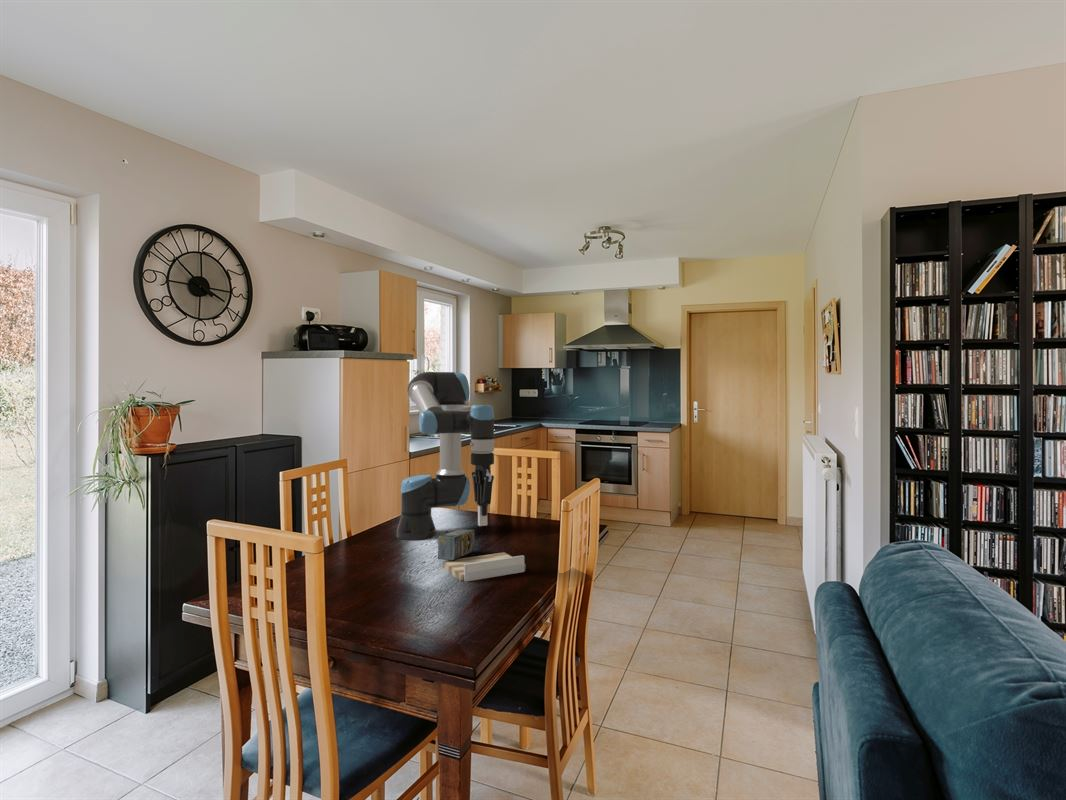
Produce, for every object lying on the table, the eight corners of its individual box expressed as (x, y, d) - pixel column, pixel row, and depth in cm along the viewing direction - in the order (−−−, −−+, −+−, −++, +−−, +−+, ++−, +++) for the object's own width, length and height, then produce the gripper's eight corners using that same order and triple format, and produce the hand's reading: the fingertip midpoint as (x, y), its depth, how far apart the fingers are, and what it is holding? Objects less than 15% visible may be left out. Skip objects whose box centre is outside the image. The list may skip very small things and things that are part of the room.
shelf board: (443, 567, 179) (443, 561, 179) (504, 558, 189) (504, 552, 189) (460, 581, 165) (460, 574, 165) (525, 570, 175) (525, 564, 175)
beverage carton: (453, 561, 178) (434, 560, 179) (475, 552, 196) (458, 550, 198) (454, 536, 178) (436, 535, 180) (476, 529, 197) (459, 528, 199)
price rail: (463, 580, 165) (463, 564, 165) (522, 571, 175) (522, 555, 175) (465, 581, 164) (465, 565, 164) (524, 572, 174) (524, 556, 174)
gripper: (464, 451, 182) (464, 522, 182) (479, 454, 171) (479, 530, 171) (485, 450, 186) (485, 520, 186) (501, 453, 174) (501, 527, 174)
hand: (482, 525), depth 178 cm, fingers closed
